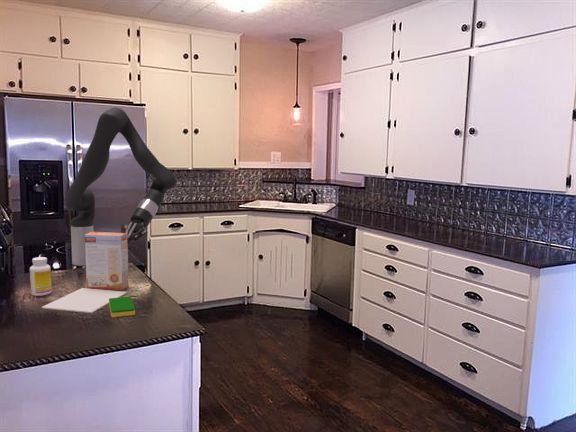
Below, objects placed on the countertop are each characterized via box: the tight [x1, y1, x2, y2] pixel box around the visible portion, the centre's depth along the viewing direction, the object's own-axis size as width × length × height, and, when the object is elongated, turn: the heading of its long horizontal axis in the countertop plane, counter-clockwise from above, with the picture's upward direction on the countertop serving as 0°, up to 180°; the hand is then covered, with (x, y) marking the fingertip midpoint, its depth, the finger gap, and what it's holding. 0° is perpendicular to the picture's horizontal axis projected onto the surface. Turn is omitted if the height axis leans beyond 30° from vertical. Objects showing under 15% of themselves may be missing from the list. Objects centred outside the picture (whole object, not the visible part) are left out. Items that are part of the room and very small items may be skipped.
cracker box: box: [85, 231, 129, 291], centre depth 179 cm, size 14×6×21 cm, turn 84°
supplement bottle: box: [29, 256, 53, 297], centre depth 171 cm, size 7×7×13 cm
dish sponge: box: [108, 296, 136, 318], centre depth 158 cm, size 7×14×2 cm, turn 23°
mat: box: [41, 287, 128, 314], centre depth 166 cm, size 22×18×1 cm
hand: (122, 247), depth 185 cm, fingers closed
